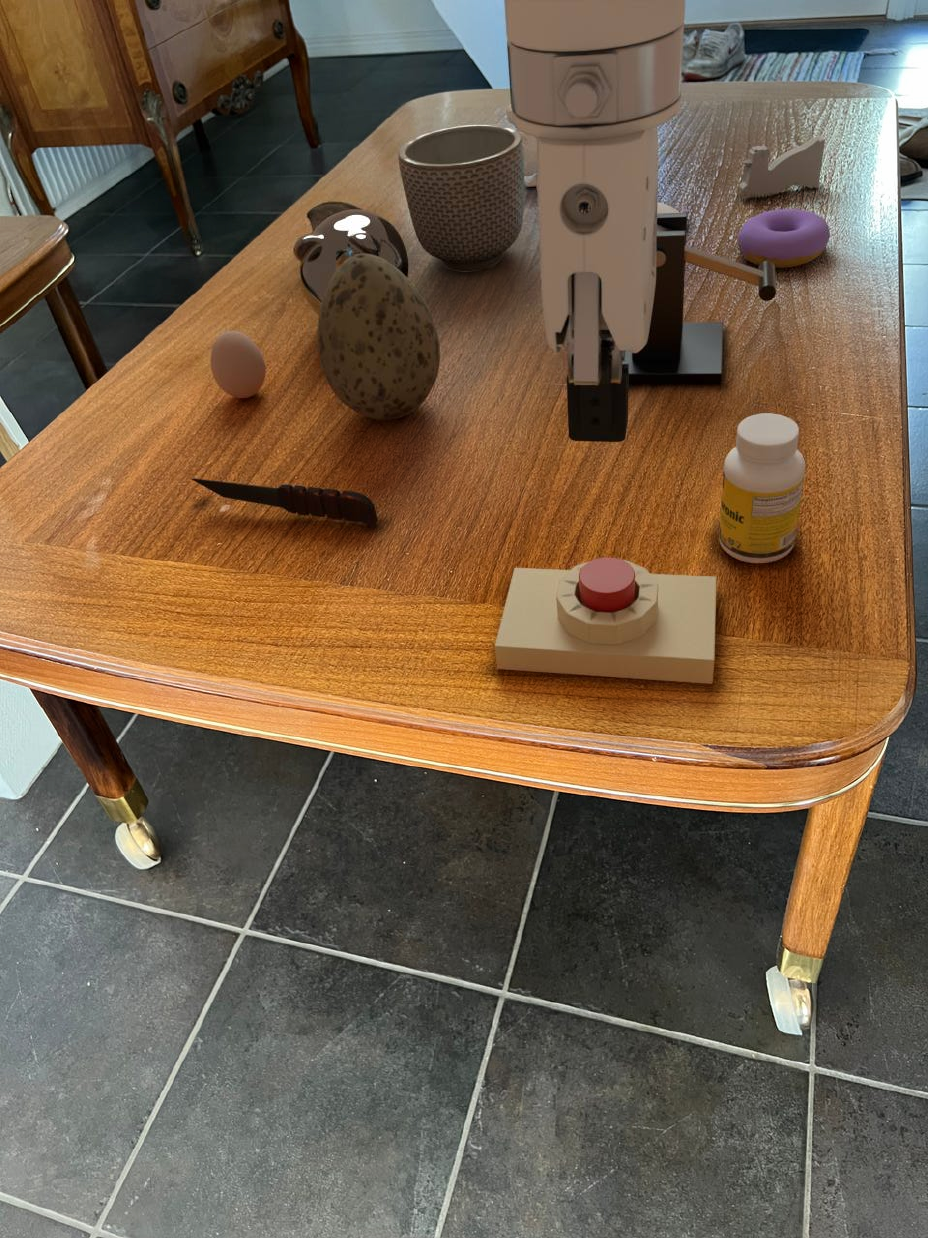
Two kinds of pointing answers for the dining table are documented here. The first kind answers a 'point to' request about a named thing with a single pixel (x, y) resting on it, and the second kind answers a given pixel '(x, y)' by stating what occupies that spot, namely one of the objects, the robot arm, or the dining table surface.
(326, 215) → the seashell
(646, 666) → the power block
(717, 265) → the lever
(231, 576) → the dining table surface
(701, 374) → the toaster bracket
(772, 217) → the donut
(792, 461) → the supplement bottle
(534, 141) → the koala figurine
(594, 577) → the button
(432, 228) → the planter
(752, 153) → the grey flat notched piece
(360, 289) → the decorative egg
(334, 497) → the knife
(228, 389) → the egg
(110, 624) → the dining table surface
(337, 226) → the piggy bank
